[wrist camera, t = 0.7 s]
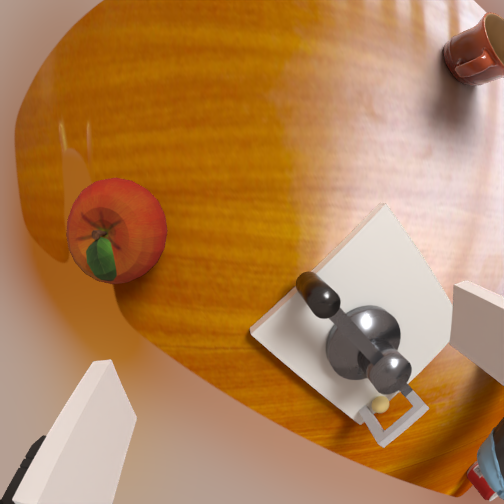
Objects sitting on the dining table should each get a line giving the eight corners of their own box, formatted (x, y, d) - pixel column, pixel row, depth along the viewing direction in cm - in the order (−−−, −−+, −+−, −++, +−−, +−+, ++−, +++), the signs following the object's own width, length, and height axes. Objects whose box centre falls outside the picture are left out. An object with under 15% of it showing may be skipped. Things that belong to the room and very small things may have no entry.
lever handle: (416, 349, 35) (443, 373, 29) (365, 397, 36) (385, 426, 30) (331, 243, 32) (356, 257, 25) (266, 305, 32) (277, 332, 26)
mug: (455, 29, 29) (499, 6, 19) (487, 79, 31) (535, 66, 21) (412, 55, 30) (460, 27, 20) (450, 112, 32) (505, 100, 22)
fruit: (158, 166, 30) (131, 157, 21) (184, 255, 32) (170, 284, 23) (78, 195, 30) (28, 201, 20) (104, 279, 32) (65, 313, 22)
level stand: (457, 321, 38) (494, 345, 29) (356, 418, 39) (378, 457, 31) (379, 202, 33) (422, 208, 25) (249, 328, 34) (257, 368, 26)
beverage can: (463, 478, 49) (484, 506, 38) (466, 466, 48) (490, 496, 36) (481, 465, 49) (504, 491, 38) (486, 453, 48) (510, 480, 36)
